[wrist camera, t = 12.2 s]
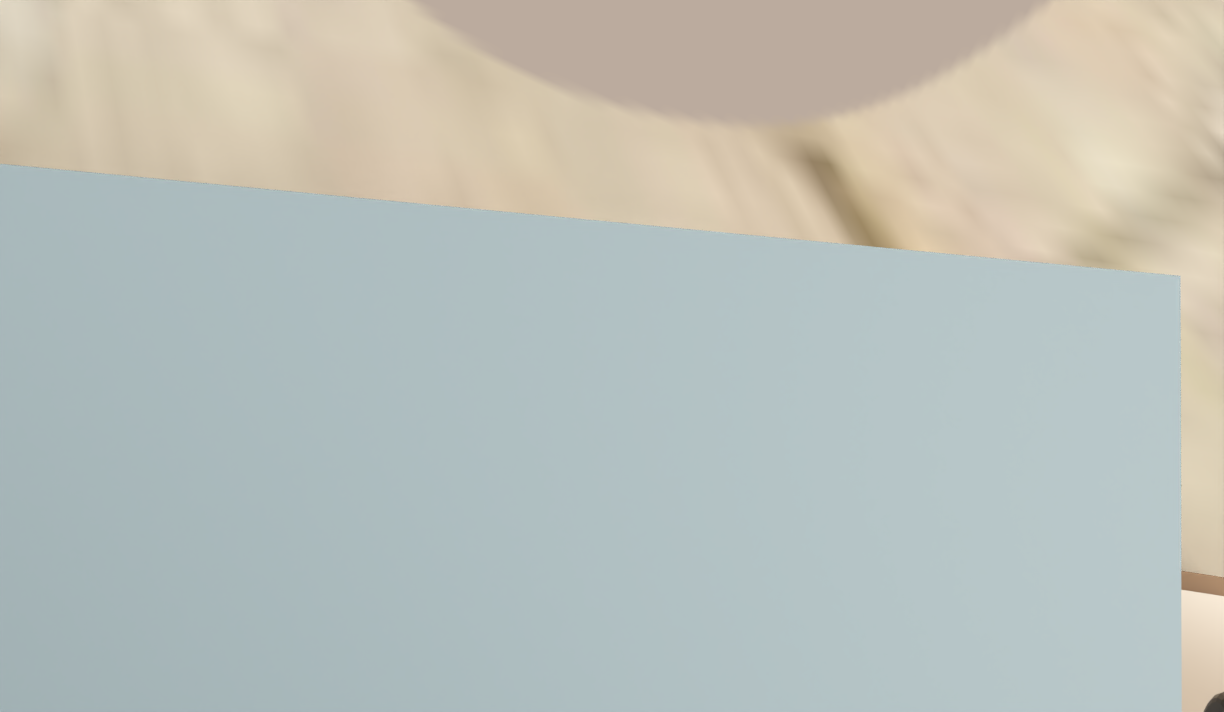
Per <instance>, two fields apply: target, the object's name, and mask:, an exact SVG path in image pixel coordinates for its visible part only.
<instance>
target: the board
mask: <svg viewBox="0 0 1224 712" xmlns="http://www.w3.org/2000/svg"><path fill="white" fill-rule="evenodd" d="M1181 648H1182V712H1204V709H1205V707H1206V706H1207V704H1208V702H1209V701H1210V700H1211V699H1212V697H1213V696H1214V695H1216V694H1218V693H1221V692H1224V577H1217V576H1211V575H1204V574H1198V573H1191V572H1185V571H1181Z"/></svg>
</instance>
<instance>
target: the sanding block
mask: <svg viewBox="0 0 1224 712" xmlns="http://www.w3.org/2000/svg"><path fill="white" fill-rule="evenodd" d="M0 712H1182V648H1181V335H1180V276H1175V275H1165V274H1154V273H1144V272H1133V271H1123V270H1112V269H1102V268H1091V267H1081V266H1070V265H1060V264H1049V263H1039V262H1028V261H1017V260H1007V259H996V258H986V257H975V256H965V255H954V254H944V253H933V252H923V251H912V250H902V249H891V248H881V247H870V246H860V245H849V244H839V243H828V242H817V241H807V240H796V239H786V238H775V237H765V236H754V235H744V234H733V233H723V232H712V231H702V230H691V229H681V228H670V227H660V226H649V225H638V224H628V223H617V222H607V221H596V220H586V219H575V218H565V217H554V216H544V215H533V214H523V213H512V212H502V211H491V210H481V209H470V208H460V207H449V206H438V205H428V204H417V203H407V202H396V201H386V200H375V199H365V198H354V197H344V196H333V195H323V194H312V193H302V192H291V191H281V190H270V189H259V188H249V187H238V186H228V185H217V184H207V183H196V182H186V181H175V180H165V179H154V178H144V177H133V176H123V175H112V174H102V173H91V172H81V171H70V170H59V169H49V168H38V167H28V166H17V165H7V164H0Z"/></svg>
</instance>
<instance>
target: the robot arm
mask: <svg viewBox="0 0 1224 712" xmlns="http://www.w3.org/2000/svg"><path fill="white" fill-rule="evenodd" d="M1204 712H1224V692H1221V693H1218V694H1216V695H1214V696H1213V697H1212V699H1211V700H1210V701H1209V702H1208V704H1207V706H1206V707H1205V709H1204Z"/></svg>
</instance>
